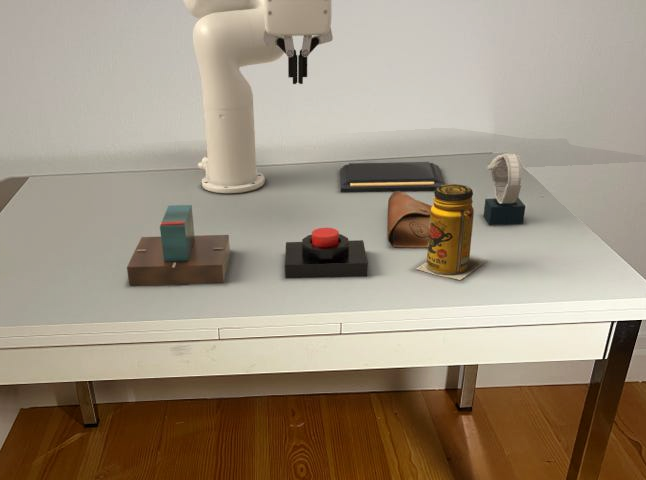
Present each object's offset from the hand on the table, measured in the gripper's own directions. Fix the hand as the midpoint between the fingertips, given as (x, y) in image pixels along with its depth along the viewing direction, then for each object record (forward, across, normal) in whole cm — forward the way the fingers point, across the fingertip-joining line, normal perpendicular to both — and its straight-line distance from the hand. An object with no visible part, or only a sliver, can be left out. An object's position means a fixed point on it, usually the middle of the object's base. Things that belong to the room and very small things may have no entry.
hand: (297, 81), depth 120 cm
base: (+23, +18, +20) cm, 35 cm away
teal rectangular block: (+20, +18, +20) cm, 33 cm away
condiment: (+22, -23, +21) cm, 39 cm away
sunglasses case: (+23, -19, +5) cm, 30 cm away
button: (+19, -4, +20) cm, 28 cm away
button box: (+22, -4, +20) cm, 31 cm away
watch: (+23, -35, +2) cm, 41 cm away
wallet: (+24, -18, -22) cm, 37 cm away
